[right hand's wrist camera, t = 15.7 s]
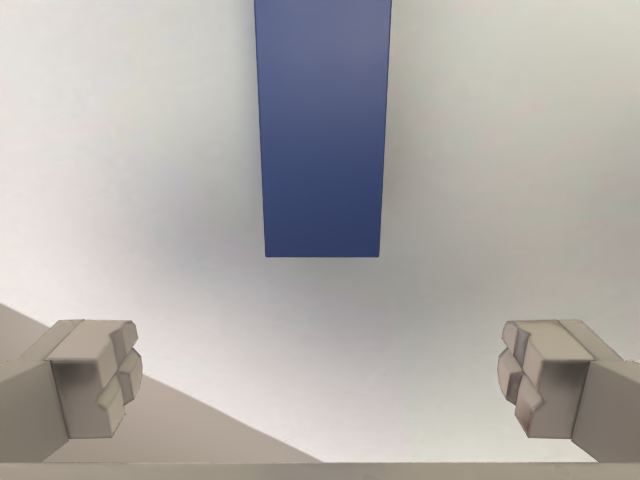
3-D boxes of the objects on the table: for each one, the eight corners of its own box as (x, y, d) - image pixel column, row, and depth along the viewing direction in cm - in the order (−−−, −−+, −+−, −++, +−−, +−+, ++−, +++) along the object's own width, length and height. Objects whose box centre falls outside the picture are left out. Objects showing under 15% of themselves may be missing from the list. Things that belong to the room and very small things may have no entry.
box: (363, 206, 35) (379, 257, 25) (280, 206, 35) (265, 257, 25) (374, -124, 28) (403, -229, 18) (270, -124, 28) (243, -229, 18)
